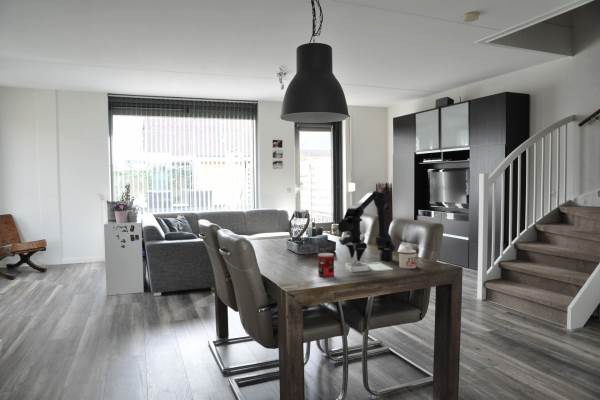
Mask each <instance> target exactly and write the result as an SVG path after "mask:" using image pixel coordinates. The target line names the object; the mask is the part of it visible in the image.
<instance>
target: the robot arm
mask: <svg viewBox="0 0 600 400" xmlns="http://www.w3.org/2000/svg"><path fill="white" fill-rule="evenodd" d="M372 202H374V206H375V207H376V208H377V220H378V231H379V232H378V235H377V236H376V237H375V241H376V246H377V250H378V251H380V252H379V260H380V261H382V262H391V261H394V258H393V252H395V250H396V246H395V244H394V243H393V241H392V237H391V235H390V233H389V229H388V225H389V224H388V214H387V212H388V209H387V208H388V206H389V203H390V196H389V194H388V193H387V192H380V191H377V190H368V191H367V193H365V195H364V196H363V197H362V198H361V199H360V200H359V201H358V202H356V203H354V204H352V205H350V206H348V207H347V210H346V212H345V215H344V217H343V218H341V219H340V222H338V225H337V227H338V228H337V229H338V230H339V232H340V233H347V234H346V235H344V236H342V237H339V238H338V241H339V243H340V245H341V246H346V248H347V249H348V252H349V256H350V259H354V256H355V254H356V261H358V262H360V260H361V259H362V256H363V255H364V252H365V251H366V249H367V248H368V244H367V243H366V242H363V240H362V239H361V235H362V232H361V222H363V219H362V218H361V217H362V216H363V215H364V213H365V208H367V207H368V206H369V205H370V204H371V203H372Z"/></svg>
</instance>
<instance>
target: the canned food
mask: <svg viewBox="0 0 600 400" xmlns="http://www.w3.org/2000/svg"><path fill="white" fill-rule="evenodd" d="M317 270H318V271H317V273H318V276H319V277H320V278H332V277H334V276H335V255H334V253H332V252H320V253H317Z"/></svg>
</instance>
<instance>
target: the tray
mask: <svg viewBox="0 0 600 400" xmlns="http://www.w3.org/2000/svg"><path fill="white" fill-rule="evenodd" d="M364 263H365V264H367V265H369V266H370V270H372V271H374V272H386V271H387V272H388V271H394V267H393V268H392V267H390V266H388V265H386V264H384V263H382V262H380V261H379V262H378V261H376V262H375V261H374V262H364Z"/></svg>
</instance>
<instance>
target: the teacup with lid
mask: <svg viewBox="0 0 600 400" xmlns="http://www.w3.org/2000/svg"><path fill="white" fill-rule="evenodd" d="M398 255H399V257H398V258H399V259H398V260H399V268H401V269H415V268H417V262H418V260H419V254H418V253H417V251H416V250H415V249H413V248H411V247H410V246H409V245H406V246H405V247H403V249H400V250H399V251H398Z"/></svg>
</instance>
